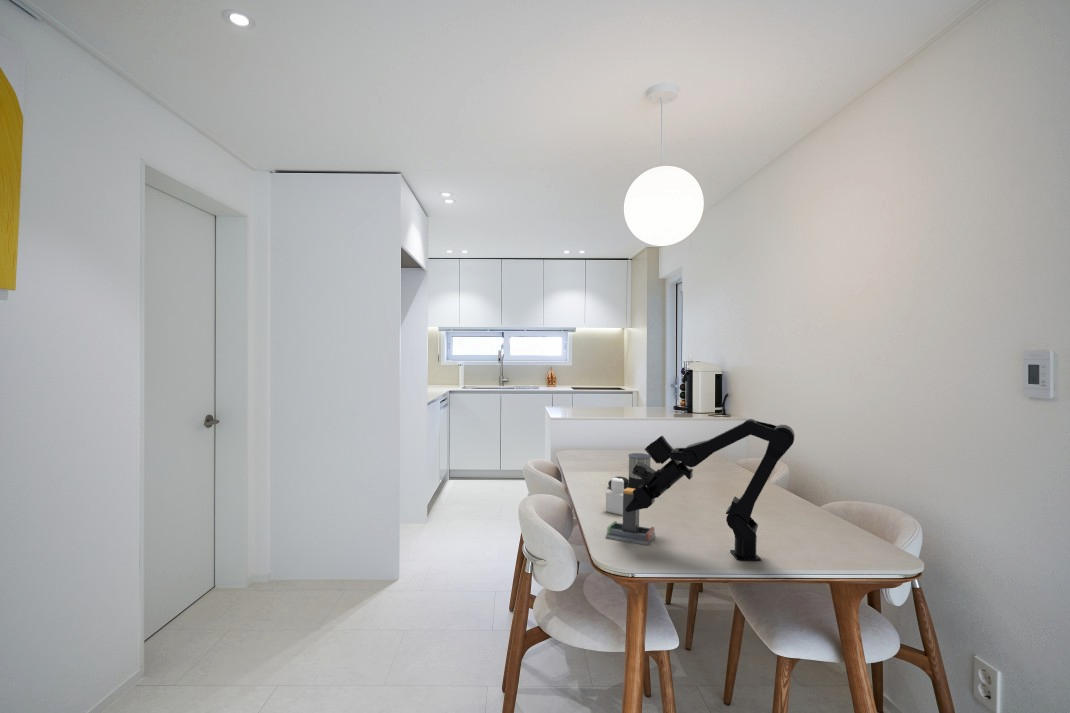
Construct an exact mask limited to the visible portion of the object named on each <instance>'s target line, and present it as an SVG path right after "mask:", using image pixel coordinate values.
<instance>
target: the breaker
mask: <svg viewBox="0 0 1070 713" xmlns="http://www.w3.org/2000/svg"><path fill="white" fill-rule="evenodd" d="M634 490H635V489H633V488H626V489H625V490H624V491H623V515H622V524H623V530H624V531H630V532H636V533H638V532H639V526H640V509H639V510H635V511H631V512H626V510H625V509H626V507H627V506H628V505H629V503H630V502H631V501H632V499H633V498H634V496H633V491H634Z"/></svg>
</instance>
